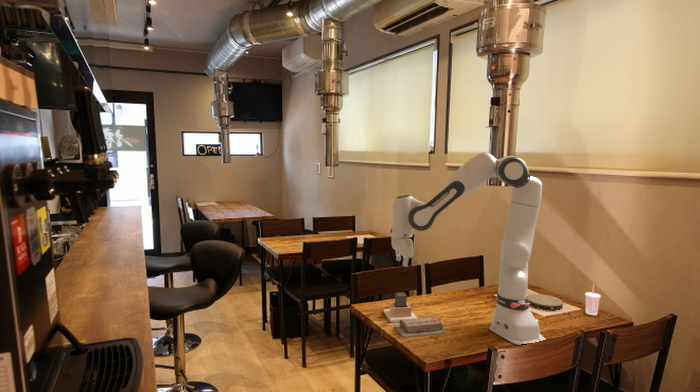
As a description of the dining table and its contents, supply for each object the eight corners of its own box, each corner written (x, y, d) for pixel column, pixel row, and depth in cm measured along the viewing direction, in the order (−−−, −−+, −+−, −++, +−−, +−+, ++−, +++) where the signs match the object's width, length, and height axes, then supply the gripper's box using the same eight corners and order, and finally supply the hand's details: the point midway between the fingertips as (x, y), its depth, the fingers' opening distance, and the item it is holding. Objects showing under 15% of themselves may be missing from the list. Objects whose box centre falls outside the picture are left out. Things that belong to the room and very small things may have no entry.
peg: (406, 315, 180) (406, 295, 179) (397, 315, 180) (397, 295, 179) (403, 311, 184) (403, 292, 183) (394, 312, 183) (395, 292, 183)
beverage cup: (584, 314, 188) (586, 284, 186) (583, 310, 193) (585, 281, 192) (599, 317, 185) (601, 286, 184) (598, 312, 190) (600, 283, 189)
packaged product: (435, 313, 174) (445, 323, 165) (434, 324, 175) (445, 334, 165) (394, 316, 170) (403, 326, 161) (394, 327, 171) (403, 338, 161)
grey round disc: (562, 303, 203) (562, 297, 202) (562, 314, 189) (563, 307, 188) (527, 297, 210) (527, 292, 209) (525, 308, 196) (525, 301, 195)
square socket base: (417, 320, 177) (418, 309, 177) (390, 322, 175) (391, 310, 175) (408, 310, 189) (409, 299, 188) (383, 311, 187) (383, 300, 186)
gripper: (417, 236, 169) (416, 269, 170) (402, 228, 189) (401, 257, 190) (402, 237, 168) (402, 270, 169) (389, 228, 188) (388, 257, 189)
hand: (401, 263), depth 180 cm, fingers open, 8 cm apart
